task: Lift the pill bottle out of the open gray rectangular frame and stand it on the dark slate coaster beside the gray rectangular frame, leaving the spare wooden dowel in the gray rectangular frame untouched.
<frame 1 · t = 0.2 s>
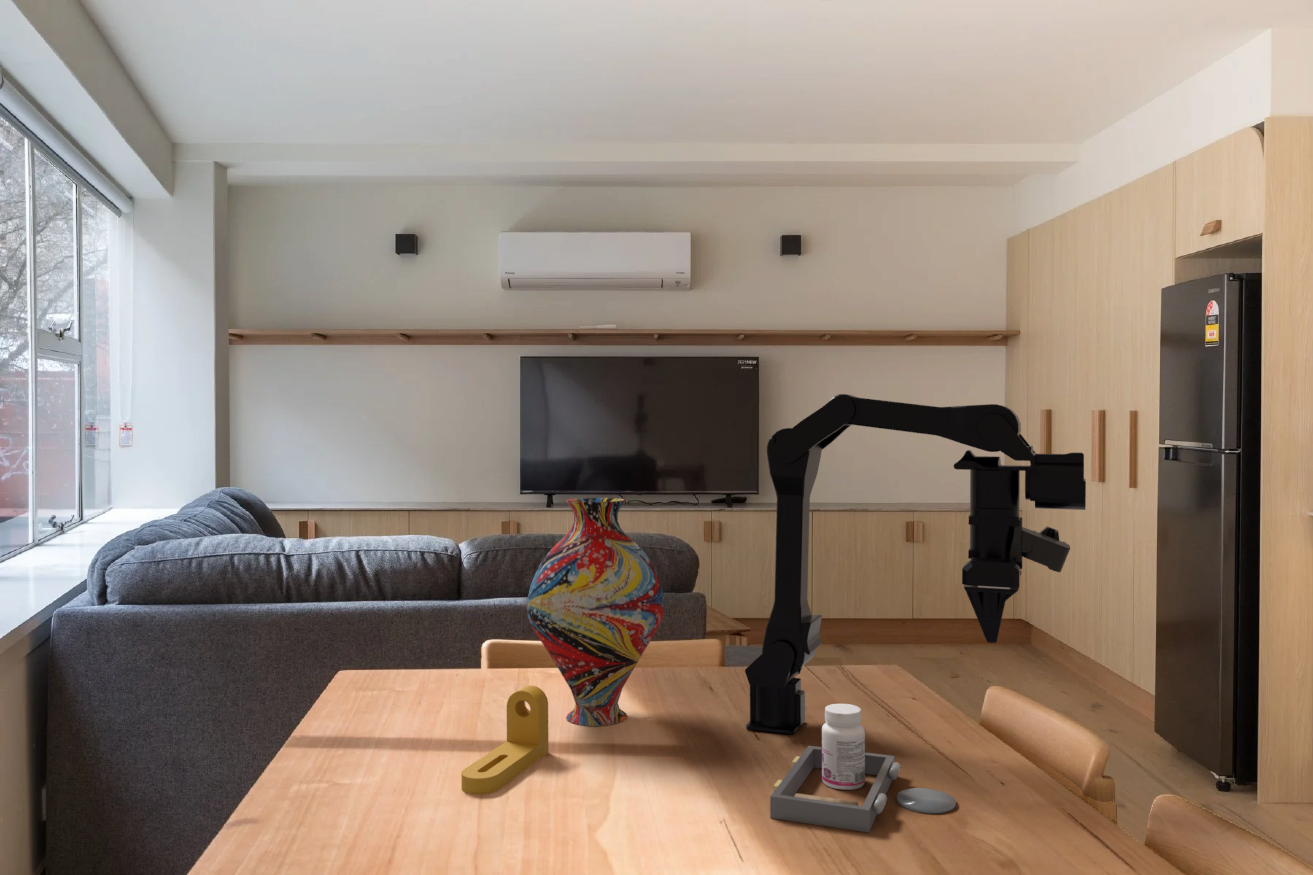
hand: (993, 634, 120), 14 cm above the table, fingers open, 9 cm apart
bracket: (503, 774, 114), on the table
pill bottle: (843, 784, 110), resting in gray rectangular frame
dowel: (826, 814, 101), resting in gray rectangular frame, tilted 9°
gray rectangular frame: (835, 795, 106), on the table
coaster: (926, 802, 104), on the table
vase: (596, 718, 135), on the table
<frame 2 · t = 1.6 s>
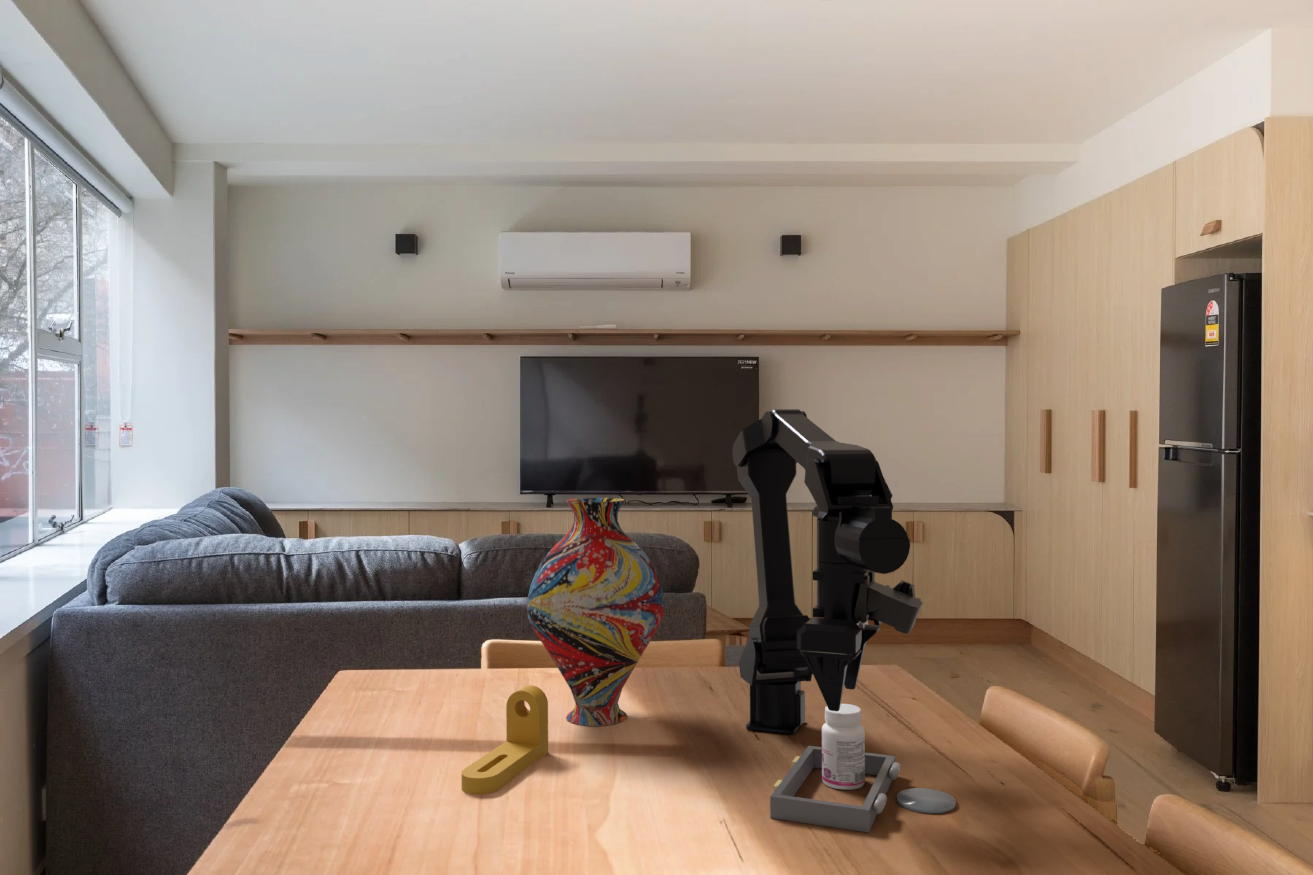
hand: (842, 699, 110), 9 cm above the table, fingers open, 9 cm apart
dowel: (823, 803, 100), point 1 cm above the table, tilted 133°
everything else where it was.
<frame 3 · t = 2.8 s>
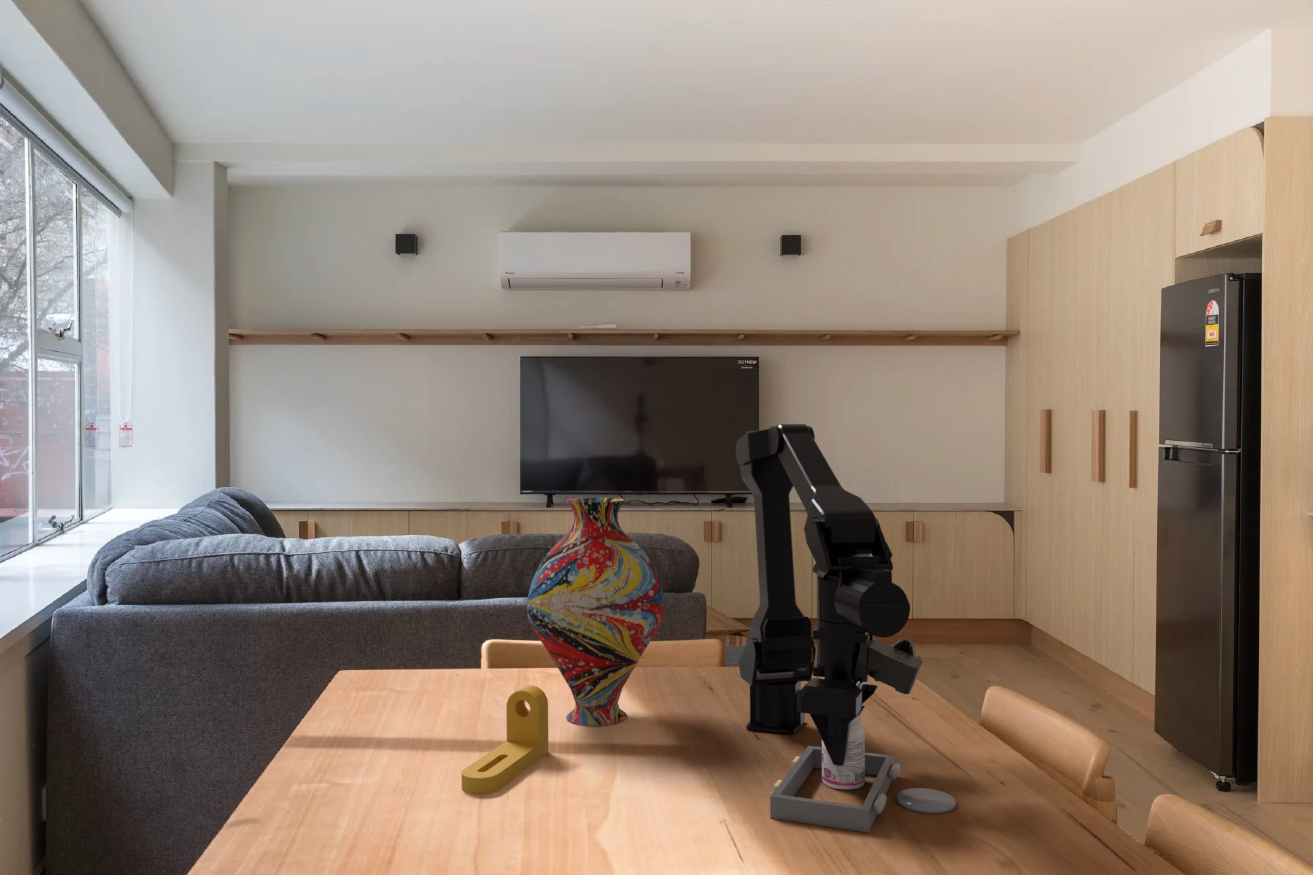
hand: (843, 757, 110), 3 cm above the table, fingers closed on pill bottle, 5 cm apart
pill bottle: (843, 784, 110), resting in gray rectangular frame, touching gripper
dowel: (825, 806, 101), point 1 cm above the table, tilted 90°
everything else where it was.
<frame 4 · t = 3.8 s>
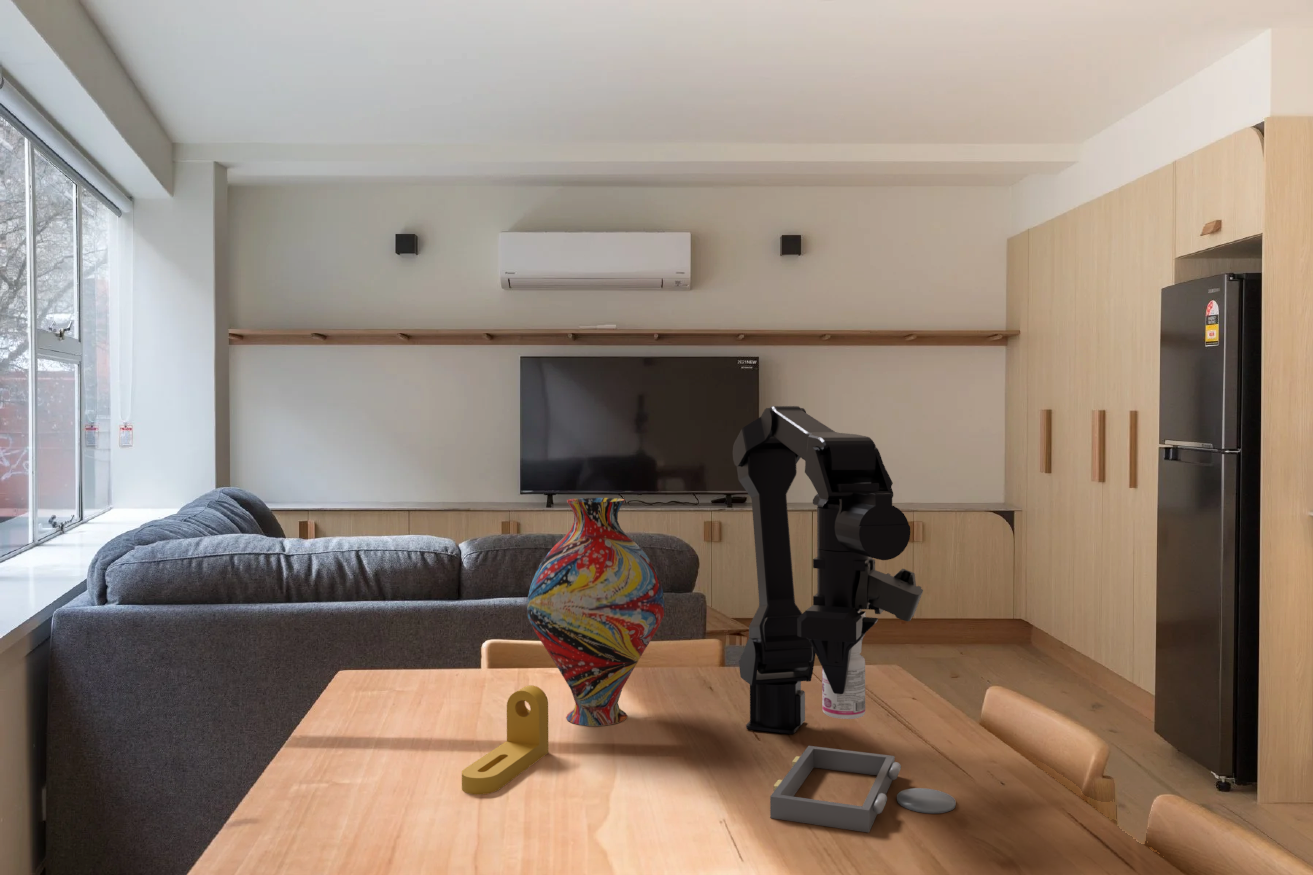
hand: (843, 687, 110), 11 cm above the table, fingers closed on pill bottle, 5 cm apart
pill bottle: (843, 715, 110), point 8 cm above the table, touching gripper
dowel: (823, 803, 100), point 1 cm above the table, tilted 135°
everything else where it was.
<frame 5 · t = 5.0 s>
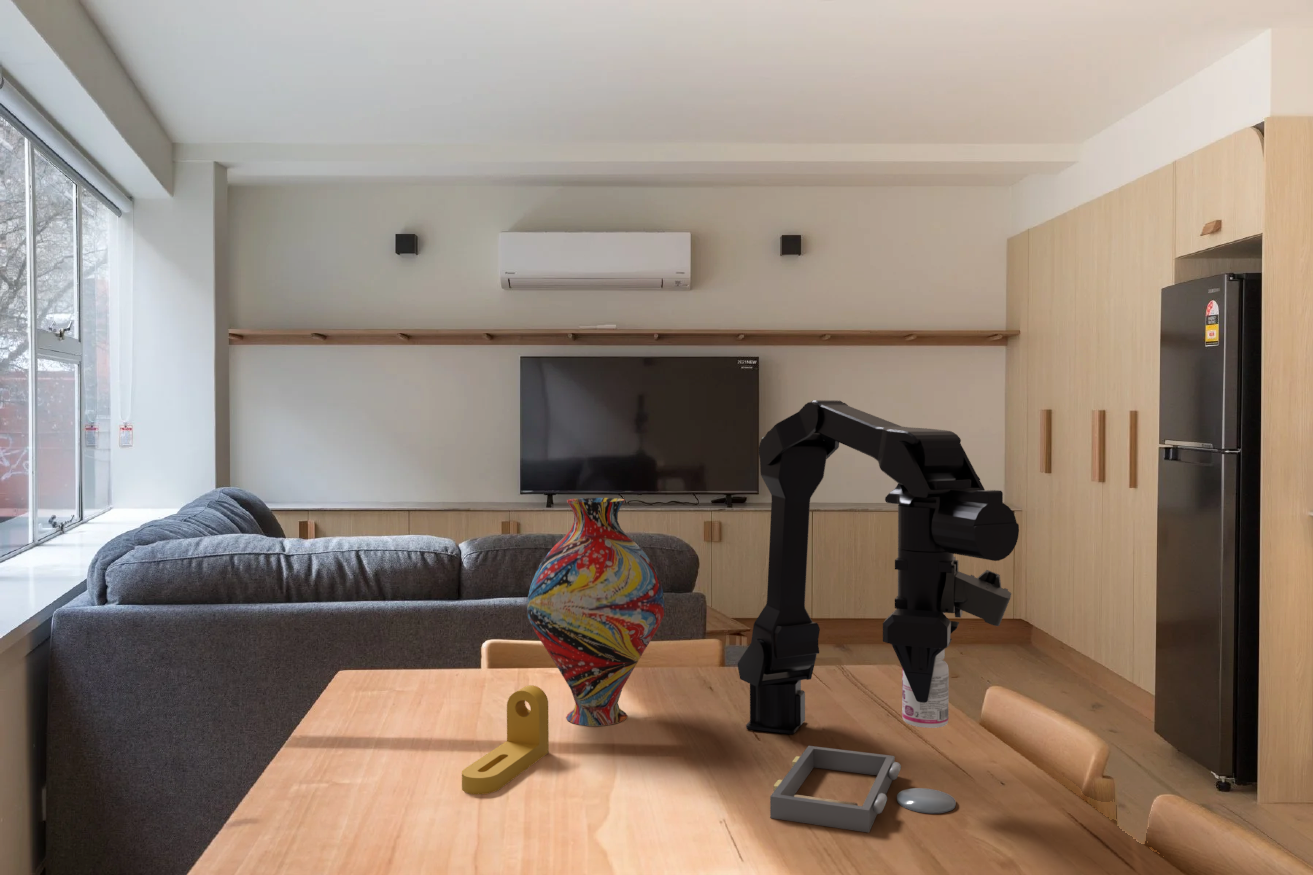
hand: (925, 695, 104), 11 cm above the table, fingers closed on pill bottle, 5 cm apart
pill bottle: (924, 723, 104), point 8 cm above the table, touching gripper
dowel: (826, 812, 102), resting in gray rectangular frame, tilted 40°
everything else where it was.
when the fingers open (4 cm above the table, at t = 6.6 s): pill bottle stays where it is, resting on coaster.
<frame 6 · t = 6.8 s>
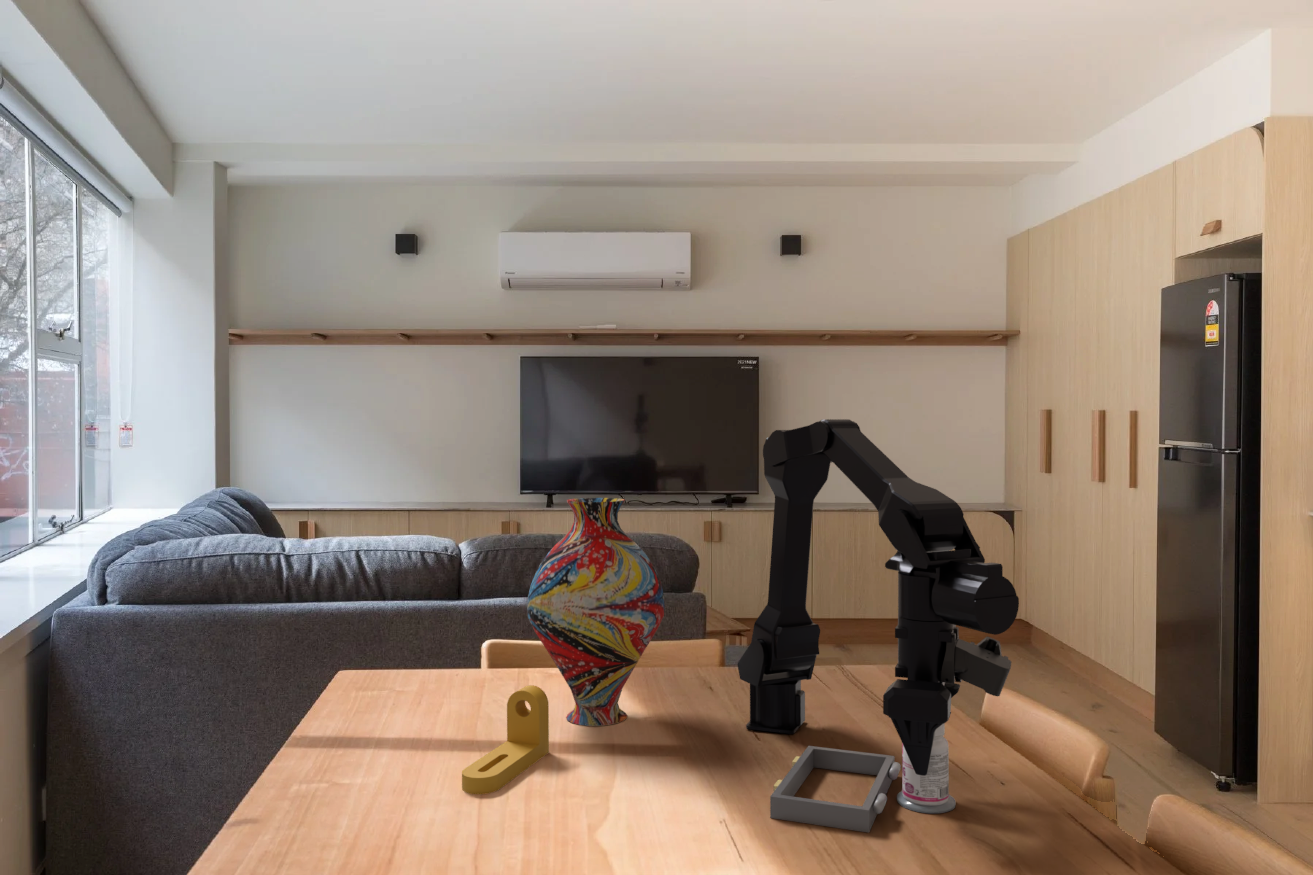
hand: (925, 762, 104), 4 cm above the table, fingers open, 7 cm apart
pill bottle: (925, 800, 104), resting on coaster
dowel: (825, 805, 101), point 1 cm above the table, tilted 109°
everything else where it was.
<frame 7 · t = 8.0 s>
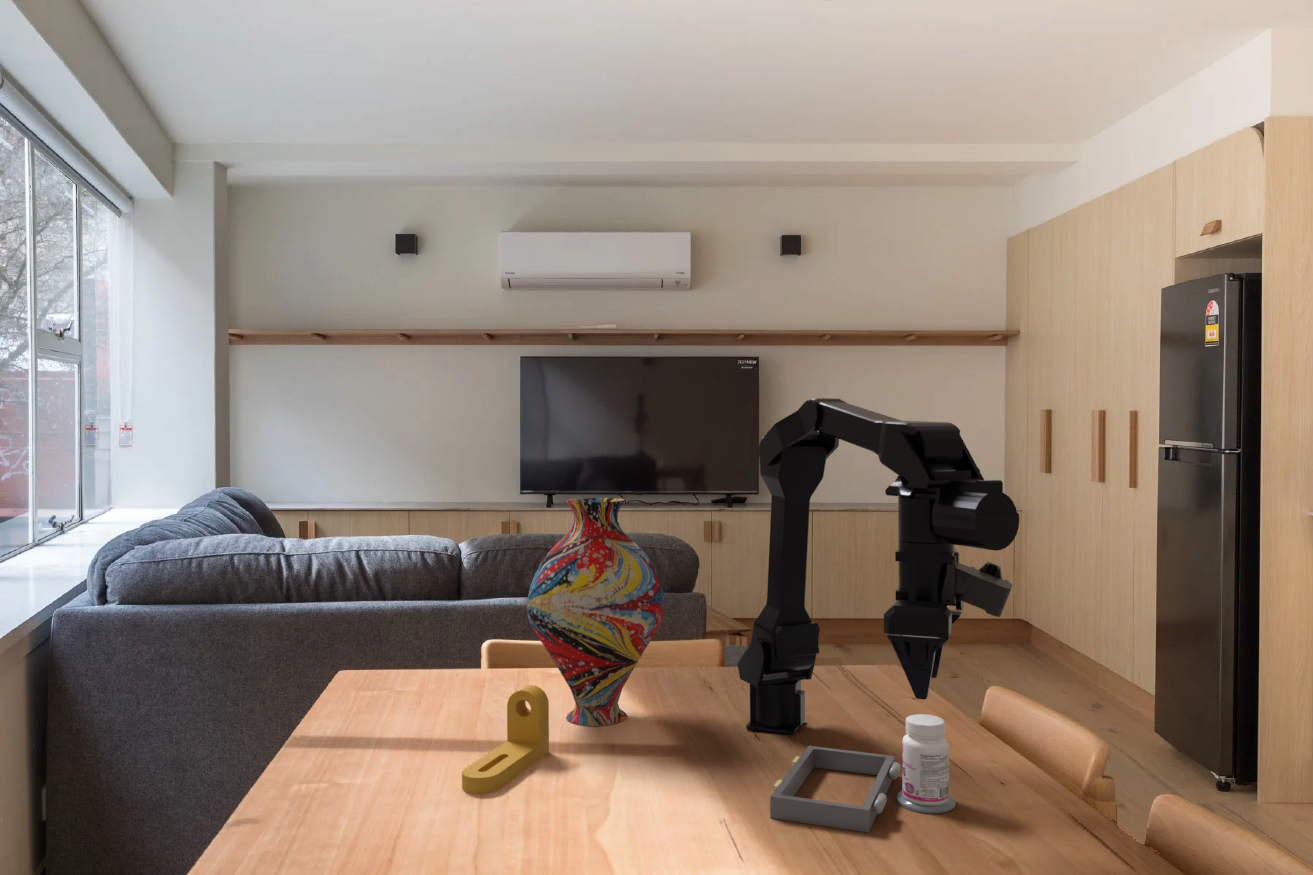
hand: (926, 687, 104), 12 cm above the table, fingers open, 9 cm apart
nothing on the table moved.
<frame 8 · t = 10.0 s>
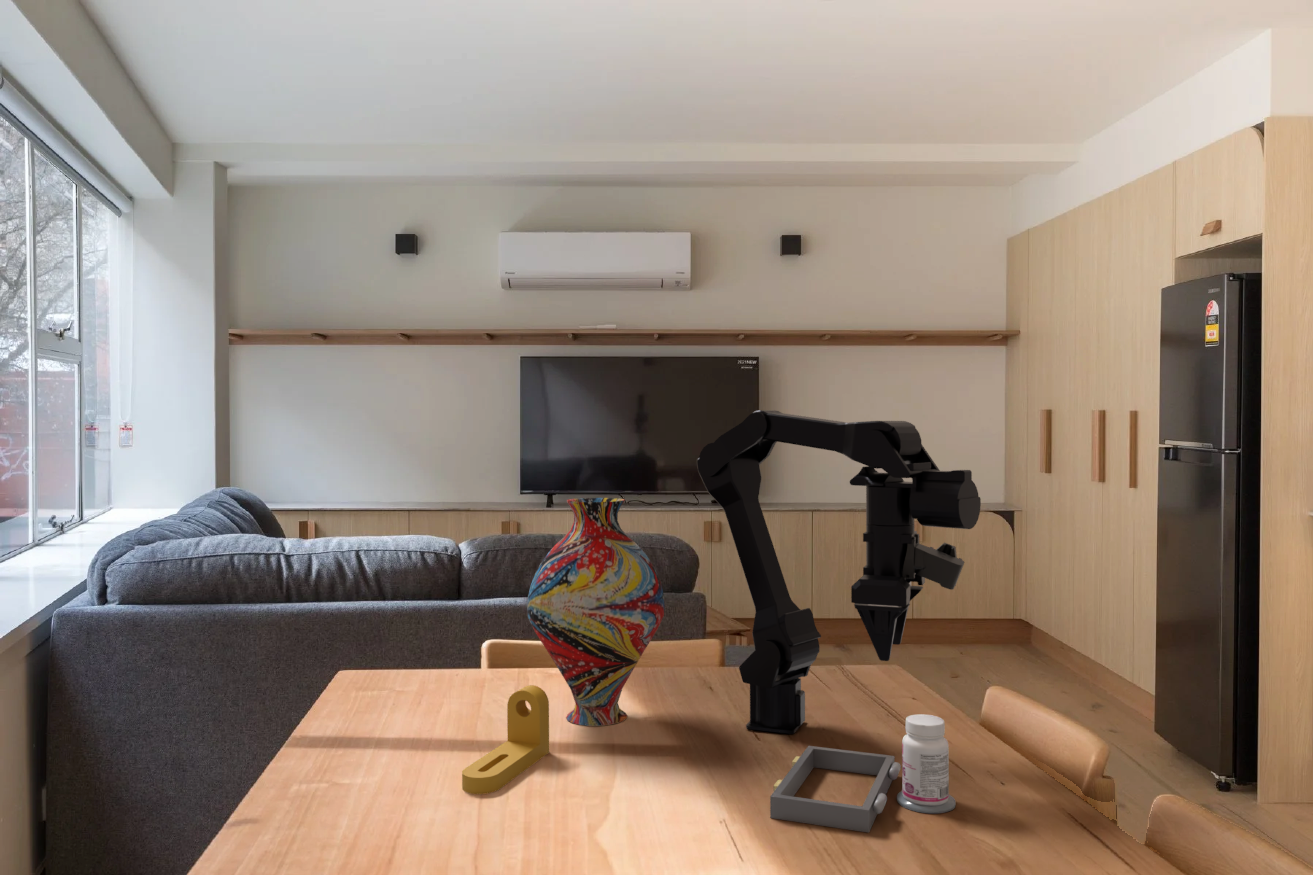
hand: (890, 652, 119), 13 cm above the table, fingers open, 9 cm apart
dowel: (825, 804, 101), point 1 cm above the table, tilted 115°
everything else where it was.
at the end: pill bottle inside the target area on the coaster (0.1 cm from its centre), point 0.2 cm above the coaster's base; pill bottle tilted 0°; the gripper is holding nothing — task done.
